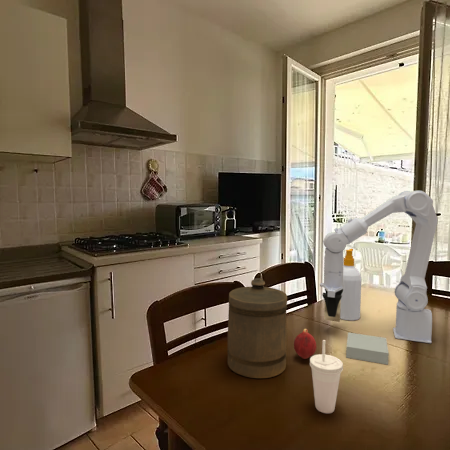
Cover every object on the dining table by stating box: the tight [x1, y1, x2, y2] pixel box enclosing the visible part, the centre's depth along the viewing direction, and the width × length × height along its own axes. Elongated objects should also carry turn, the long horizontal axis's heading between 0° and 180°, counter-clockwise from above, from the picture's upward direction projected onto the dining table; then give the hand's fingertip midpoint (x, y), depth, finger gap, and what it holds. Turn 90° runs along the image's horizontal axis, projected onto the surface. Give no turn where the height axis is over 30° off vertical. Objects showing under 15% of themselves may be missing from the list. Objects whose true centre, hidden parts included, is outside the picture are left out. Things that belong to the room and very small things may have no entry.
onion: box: [293, 328, 318, 360], centre depth 88 cm, size 6×6×8 cm
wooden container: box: [227, 277, 288, 379], centre depth 85 cm, size 15×15×22 cm
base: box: [345, 332, 389, 365], centre depth 91 cm, size 10×10×3 cm
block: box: [323, 299, 341, 323], centre depth 106 cm, size 4×4×6 cm
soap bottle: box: [340, 248, 362, 321], centre depth 119 cm, size 9×9×24 cm
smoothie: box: [309, 339, 344, 414], centre depth 67 cm, size 6×6×14 cm
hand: (332, 313), depth 106 cm, fingers closed on block, 4 cm apart
